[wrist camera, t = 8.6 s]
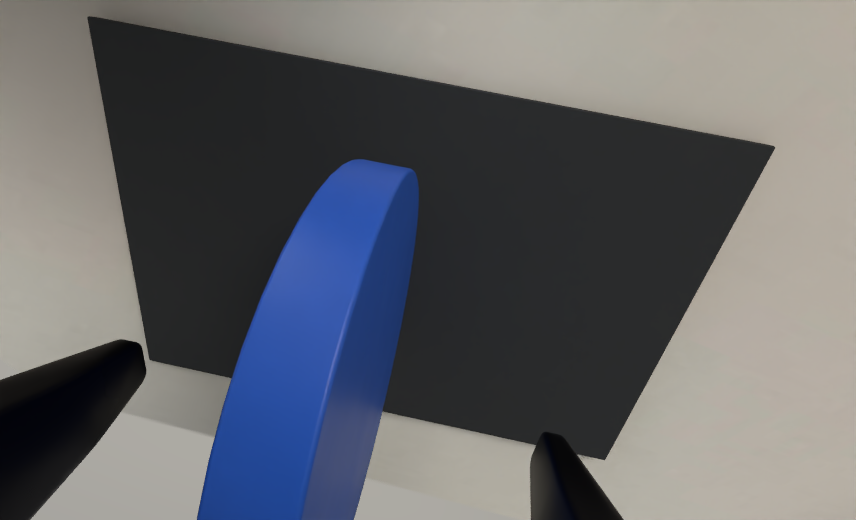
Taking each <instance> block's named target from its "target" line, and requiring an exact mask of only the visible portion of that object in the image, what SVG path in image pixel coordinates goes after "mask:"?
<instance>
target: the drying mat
mask: <svg viewBox="0 0 856 520" xmlns="http://www.w3.org/2000/svg"><path fill="white" fill-rule="evenodd" d="M88 23H89V28H90V34H91V39H92V45H93V50H94V56H95V61H96V67H97V72H98V78H99V83H100V89H101V94H102V100H103V105H104V111H105V116H106V122H107V128H108V133H109V139H110V144H111V150H112V155H113V161H114V166H115V172H116V177H117V183H118V188H119V194H120V199H121V205H122V210H123V216H124V221H125V227H126V232H127V238H128V243H129V249H130V255H131V260H132V266H133V271H134V277H135V282H136V288H137V293H138V299H139V304H140V310H141V315H142V321H143V326H144V332H145V337H146V343H147V348H148V354H149V359H150V360H152V361H156V362H161V363H165V364H170V365H175V366H179V367H184V368H188V369H193V370H197V371H202V372H206V373H211V374H215V375H220V376H225V377H229V378H232V376H233V373H234V370H235V367H236V364H237V361H238V358H239V355H240V352H241V349H242V346H243V343H244V340H245V338H246V335H247V333H248V330H249V327H250V325H251V322H252V320H253V317H254V314H255V312H256V309H257V306H258V304H259V301H260V299H261V296H262V294H263V292H264V289H265V287H266V285H267V283H268V280H269V278H270V276H271V274H272V272H273V269H274V267H275V265H276V263H277V260H278V258H279V256H280V254H281V252H282V250H283V248H284V246H285V244H286V242H287V241H288V239H289V237H290V235H291V233H292V231H293V229H294V227H295V226H296V224H297V222H298V220H299V218H300V217H301V215H302V213H303V212H304V210H305V209H306V207H307V206H308V204H309V203H310V201H311V200H312V198H313V196H314V195H315V193H316V192H317V191H318V190H319V188H320V187H321V186H322V185H323V183H324V182H325V181H326V180H327V179H328V177H329V176H330V175H331V174H332V173H333V172H335V171H336V170H337V169H338V168H339V167H340V166H342V165H343V164H345V163H347V162H349V161H351V160H355V159H364V160H369V161H374V162H379V163H385V164H390V165H395V166H400V167H405V168H410V169H412V170H413V171H414V172H415V173H416V176H417V179H418V187H419V206H418V220H417V230H416V239H415V247H414V254H413V261H412V267H411V274H410V280H409V286H408V291H407V297H406V303H405V308H404V313H403V319H402V324H401V329H400V334H399V339H398V343H397V348H396V353H395V358H394V362H393V367H392V371H391V376H390V380H389V385H388V389H387V394H386V398H385V402H384V406H383V411H384V412H388V413H393V414H397V415H402V416H407V417H411V418H416V419H420V420H425V421H429V422H434V423H438V424H443V425H447V426H452V427H457V428H461V429H466V430H470V431H475V432H479V433H484V434H488V435H493V436H498V437H502V438H507V439H511V440H516V441H520V442H525V443H529V444H534V445H537V443H538V440H539V438H540V436H541V434H542V433H543V432H550V433H555V434H559V435H562V436H563V437H564V438H565V439H566V440H567V442H568V443H569V445H570V446H571V447H572V449H573V450H574V452H575V453H576V454H579V455H584V456H589V457H593V458H598V459H602V460H605V459H606V457H607V455H608V453H609V452H610V450H611V448H612V446H613V444H614V442H615V441H616V439H617V437H618V435H619V433H620V431H621V430H622V428H623V426H624V424H625V422H626V420H627V419H628V417H629V415H630V413H631V411H632V409H633V408H634V406H635V404H636V402H637V400H638V398H639V397H640V395H641V393H642V391H643V389H644V387H645V386H646V384H647V382H648V380H649V378H650V376H651V375H652V373H653V371H654V369H655V367H656V365H657V364H658V362H659V360H660V358H661V356H662V354H663V353H664V351H665V349H666V347H667V345H668V343H669V342H670V340H671V338H672V336H673V334H674V332H675V331H676V329H677V327H678V325H679V323H680V321H681V320H682V318H683V316H684V314H685V312H686V310H687V309H688V307H689V305H690V303H691V301H692V299H693V298H694V296H695V294H696V292H697V290H698V288H699V287H700V285H701V283H702V281H703V279H704V277H705V276H706V274H707V272H708V270H709V268H710V266H711V265H712V263H713V261H714V259H715V257H716V255H717V254H718V252H719V250H720V248H721V246H722V244H723V243H724V241H725V239H726V237H727V235H728V233H729V232H730V230H731V228H732V226H733V224H734V222H735V221H736V219H737V217H738V215H739V213H740V211H741V210H742V208H743V206H744V204H745V202H746V200H747V199H748V197H749V195H750V193H751V191H752V189H753V188H754V186H755V184H756V182H757V180H758V178H759V177H760V175H761V173H762V171H763V169H764V167H765V166H766V164H767V162H768V160H769V158H770V156H771V155H772V153H773V151H774V149H775V147H774V146H771V145H766V144H761V143H756V142H750V141H745V140H740V139H735V138H729V137H724V136H719V135H714V134H708V133H703V132H698V131H692V130H687V129H682V128H677V127H671V126H666V125H661V124H656V123H650V122H645V121H640V120H634V119H629V118H624V117H619V116H613V115H608V114H603V113H598V112H592V111H587V110H582V109H577V108H571V107H566V106H561V105H555V104H550V103H545V102H540V101H534V100H529V99H524V98H519V97H513V96H508V95H503V94H498V93H492V92H487V91H482V90H476V89H471V88H466V87H461V86H455V85H450V84H445V83H440V82H434V81H429V80H424V79H418V78H413V77H408V76H403V75H397V74H392V73H387V72H382V71H376V70H371V69H366V68H361V67H355V66H350V65H345V64H339V63H334V62H329V61H324V60H318V59H313V58H308V57H303V56H297V55H292V54H287V53H281V52H276V51H271V50H266V49H260V48H255V47H250V46H245V45H239V44H234V43H229V42H224V41H218V40H213V39H208V38H202V37H197V36H192V35H187V34H181V33H176V32H171V31H166V30H160V29H155V28H150V27H145V26H139V25H134V24H129V23H123V22H118V21H113V20H108V19H102V18H97V17H91V16H89V17H88Z"/></svg>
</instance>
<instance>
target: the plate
mask: <svg viewBox="0 0 856 520" xmlns="http://www.w3.org/2000/svg"><path fill="white" fill-rule="evenodd" d="M418 206H419V187H418V179H417V176H416V173H415V172H414V171H413V170H412V169H410V168H405V167H400V166H395V165H390V164H385V163H379V162H374V161H369V160H364V159H355V160H351V161H349V162H347V163H345V164H343V165H342V166H340V167H339V168H338V169H337V170H336V171H335V172H333V173H332V174H331V175H330V176H329V177H328V179H327V180H326V181H325V182H324V183H323V185H322V186H321V187H320V188H319V190H318V191H317V192H316V193H315V195H314V196H313V198H312V200H311V201H310V203H309V204H308V206H307V207H306V209H305V210H304V212H303V213H302V215H301V217H300V218H299V220H298V222H297V224H296V226H295V227H294V229H293V231H292V233H291V235H290V237H289V239H288V241H287V242H286V244H285V246H284V248H283V250H282V252H281V254H280V256H279V258H278V260H277V263H276V265H275V267H274V269H273V272H272V274H271V276H270V278H269V280H268V283H267V285H266V287H265V289H264V292H263V294H262V296H261V299H260V301H259V304H258V306H257V309H256V312H255V314H254V317H253V320H252V322H251V325H250V327H249V330H248V333H247V335H246V338H245V340H244V343H243V346H242V349H241V352H240V355H239V358H238V361H237V364H236V367H235V370H234V373H233V376H232V380H231V383H230V386H229V389H228V392H227V395H226V398H225V401H224V405H223V408H222V412H221V416H220V420H219V424H218V427H217V431H216V435H215V439H214V443H213V446H212V450H211V454H210V458H209V462H208V467H207V472H206V477H205V482H204V486H203V491H202V496H201V501H200V506H199V511H198V516H197V520H354V517H355V513H356V510H357V506H358V503H359V499H360V495H361V492H362V488H363V485H364V481H365V477H366V474H367V470H368V466H369V462H370V459H371V455H372V451H373V447H374V443H375V439H376V435H377V431H378V427H379V423H380V419H381V415H382V411H383V406H384V402H385V398H386V394H387V389H388V385H389V380H390V376H391V371H392V367H393V362H394V358H395V353H396V348H397V343H398V339H399V334H400V329H401V324H402V319H403V313H404V308H405V303H406V297H407V291H408V286H409V280H410V274H411V267H412V261H413V254H414V247H415V239H416V230H417V220H418Z"/></svg>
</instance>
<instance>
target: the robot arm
mask: <svg viewBox="0 0 856 520" xmlns="http://www.w3.org/2000/svg"><path fill="white" fill-rule="evenodd" d="M145 376H146V366H145V361H144V355H143V350H142V347H141V345H140V344H139V343H137V342H132V341H128V340H116V341H113V342H110V343H107V344H104V345H101V346H98V347H95V348H92V349H89V350H86V351H83V352H80V353H78V354H75V355H72V356H69V357H66V358H63V359H60V360H57V361H54V362H51V363H48V364H45V365H42V366H40V367H37V368H34V369H31V370H28V371H25V372H22V373H19V374H16V375H13V376H10V377H8V378H5V379H2V380H0V520H30V519H31V518H32V517H33V516H34V515H35V514H36V513H37V511H38V510H39V509H40V508H41V507H42V506H43V505H44V504H45V502H46V501H47V500H48V499H49V498H50V497H51V496H52V494H53V493H54V492H55V491H56V490H57V489H58V488H59V486H60V485H61V484H62V483H63V482H64V481H65V480H66V478H67V477H68V476H69V475H70V474H71V473H72V472H73V471H74V469H75V468H76V467H77V466H78V465H79V464H80V463H81V462H82V460H83V459H84V458H85V457H86V456H87V455H88V454H89V452H90V451H91V450H92V449H93V448H94V446H95V445H96V444H97V443H98V441H99V440H100V439H101V437H102V436H103V435H104V434H105V432H106V431H107V430H108V428H109V427H110V426H111V424H112V423H113V422H114V420H115V419H116V418H117V416H118V415H119V413H120V412H121V411H122V409H123V408H124V407H125V405H126V404H127V403H128V401H129V400H130V399H131V397H132V396H133V395H134V393H135V392H136V391H137V389H138V388H139V386H140V385H141V384H142V382H143V380H144V378H145ZM530 491H531V520H623V518H622V517H621V515H620V514H619V513H618V511H617V510H616V508H615V507H614V506H613V504H612V503H611V502H610V500H609V499H608V497H607V496H606V495H605V493H604V492H603V490H602V489H601V488H600V486H599V485H598V483H597V482H596V481H595V479H594V478H593V477H592V475H591V474H590V472H589V471H588V470H587V468H586V467H585V465H584V464H583V463H582V461H581V460H580V458H579V457H578V456H577V454H576V453H575V452H574V450H573V449H572V447H571V446H570V445H569V443H568V442H567V440H566V439H565V438H564V437H563V436H562V435H559V434H555V433H550V432H543V433H542V434H541V436H540V438H539V440H538V443H537V445H536V448H535V450H534V452H533V455H532V458H531V463H530Z"/></svg>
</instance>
